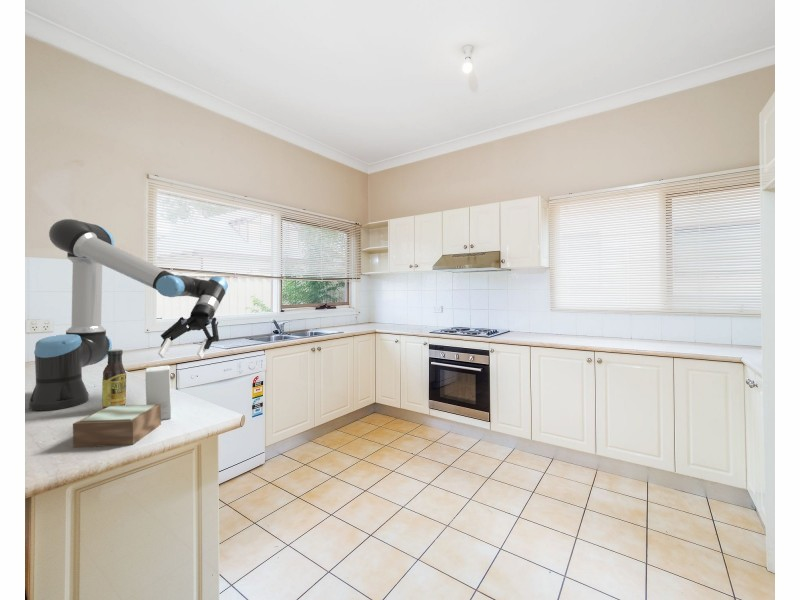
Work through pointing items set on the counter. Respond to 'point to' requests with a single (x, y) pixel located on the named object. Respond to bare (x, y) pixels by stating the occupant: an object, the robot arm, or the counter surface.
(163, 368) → the skincare box
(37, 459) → the counter surface
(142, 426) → the riser
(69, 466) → the counter surface
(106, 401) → the sauce bottle
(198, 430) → the counter surface
